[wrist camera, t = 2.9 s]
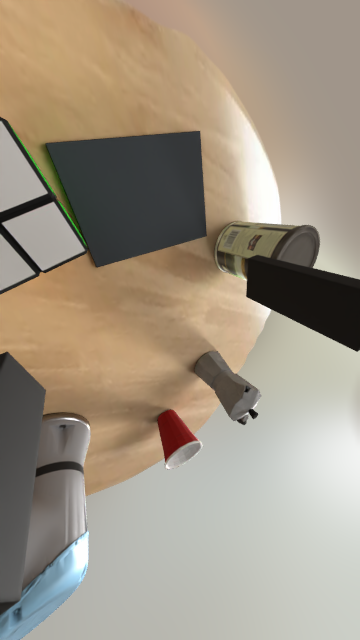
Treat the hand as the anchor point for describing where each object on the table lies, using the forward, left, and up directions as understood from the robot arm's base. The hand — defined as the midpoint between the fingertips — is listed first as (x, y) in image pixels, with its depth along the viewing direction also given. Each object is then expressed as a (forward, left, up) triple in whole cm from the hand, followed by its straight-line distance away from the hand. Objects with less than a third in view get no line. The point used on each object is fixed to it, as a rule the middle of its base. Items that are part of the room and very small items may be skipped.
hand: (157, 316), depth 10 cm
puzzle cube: (-8, +6, -23) cm, 25 cm away
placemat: (+8, +5, -23) cm, 25 cm away
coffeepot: (+16, -37, -23) cm, 47 cm away
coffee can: (+25, -6, -23) cm, 35 cm away
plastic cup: (0, -49, -23) cm, 54 cm away
